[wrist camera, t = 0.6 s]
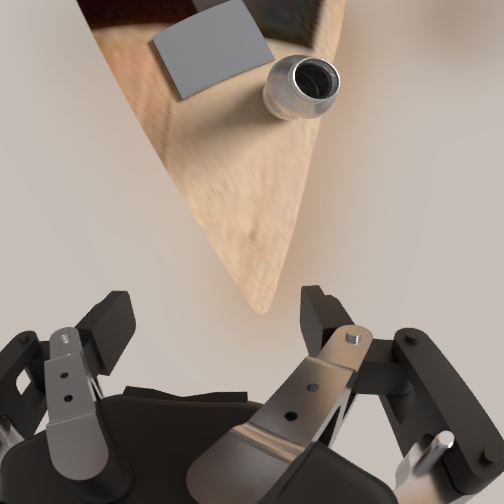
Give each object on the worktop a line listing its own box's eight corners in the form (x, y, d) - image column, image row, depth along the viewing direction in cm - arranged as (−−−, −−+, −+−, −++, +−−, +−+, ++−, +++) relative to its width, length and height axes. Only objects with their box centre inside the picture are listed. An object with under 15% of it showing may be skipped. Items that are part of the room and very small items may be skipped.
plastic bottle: (292, 128, 36) (330, 137, 18) (252, 103, 34) (253, 86, 17) (316, 95, 34) (374, 77, 16) (277, 69, 32) (301, 24, 14)
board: (154, 38, 29) (151, 37, 28) (240, 0, 26) (239, -3, 25) (184, 99, 34) (182, 99, 33) (274, 60, 31) (274, 59, 30)
